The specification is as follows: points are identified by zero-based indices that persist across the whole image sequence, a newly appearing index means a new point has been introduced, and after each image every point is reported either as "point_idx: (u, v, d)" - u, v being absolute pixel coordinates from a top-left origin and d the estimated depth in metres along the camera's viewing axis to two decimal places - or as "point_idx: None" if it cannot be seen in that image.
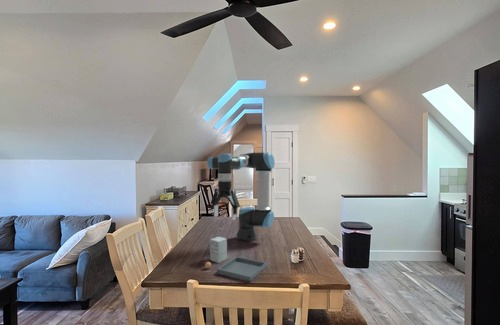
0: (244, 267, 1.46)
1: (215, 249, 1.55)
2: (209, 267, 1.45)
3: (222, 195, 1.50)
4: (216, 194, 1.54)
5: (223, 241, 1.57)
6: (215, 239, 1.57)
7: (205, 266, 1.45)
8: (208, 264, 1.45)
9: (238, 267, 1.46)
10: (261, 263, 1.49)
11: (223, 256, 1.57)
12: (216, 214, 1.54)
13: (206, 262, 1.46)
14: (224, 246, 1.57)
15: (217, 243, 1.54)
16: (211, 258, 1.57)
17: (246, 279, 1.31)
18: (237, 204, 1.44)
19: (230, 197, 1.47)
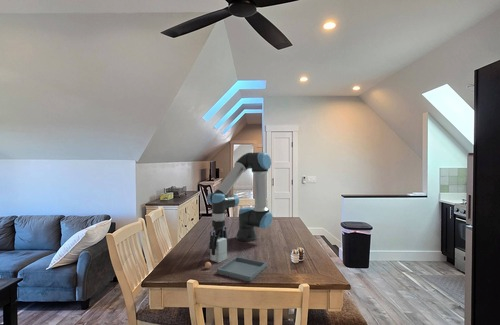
0: (244, 267, 1.46)
1: None
2: (209, 267, 1.45)
3: None
4: (223, 232, 1.63)
5: (223, 241, 1.57)
6: None
7: (205, 266, 1.45)
8: (208, 264, 1.45)
9: (238, 267, 1.46)
10: (261, 263, 1.49)
11: (223, 256, 1.57)
12: None
13: (206, 262, 1.46)
14: (224, 245, 1.57)
15: (217, 243, 1.54)
16: (211, 258, 1.57)
17: (246, 279, 1.31)
18: (210, 246, 1.52)
19: (215, 237, 1.55)
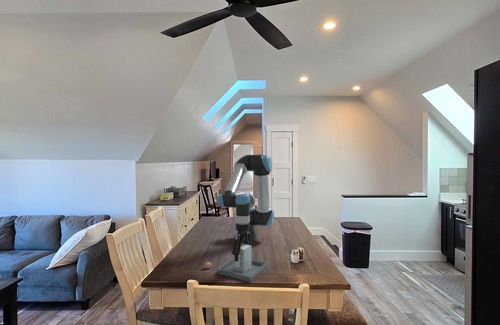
0: None
1: None
2: (209, 267, 1.45)
3: None
4: (247, 235, 1.49)
5: (248, 249, 1.42)
6: None
7: (205, 266, 1.45)
8: (208, 264, 1.45)
9: None
10: (261, 263, 1.49)
11: (248, 265, 1.42)
12: None
13: (206, 262, 1.46)
14: (249, 254, 1.42)
15: (242, 251, 1.39)
16: (234, 268, 1.42)
17: (246, 279, 1.31)
18: (234, 251, 1.36)
19: (239, 242, 1.40)
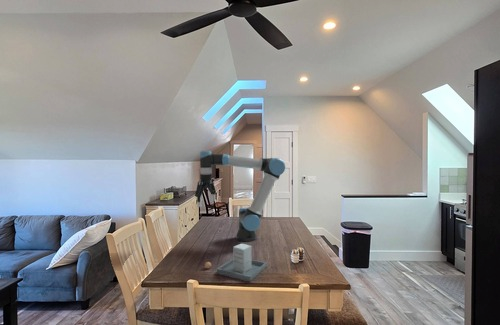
0: None
1: (239, 258, 1.40)
2: (209, 267, 1.45)
3: None
4: (211, 185, 1.85)
5: (248, 249, 1.42)
6: (239, 247, 1.42)
7: (205, 266, 1.45)
8: (208, 264, 1.45)
9: None
10: (261, 263, 1.49)
11: (248, 265, 1.42)
12: (211, 201, 1.85)
13: (206, 262, 1.46)
14: (248, 254, 1.42)
15: (242, 251, 1.39)
16: (234, 268, 1.42)
17: (246, 279, 1.31)
18: (196, 193, 1.71)
19: (201, 187, 1.76)
